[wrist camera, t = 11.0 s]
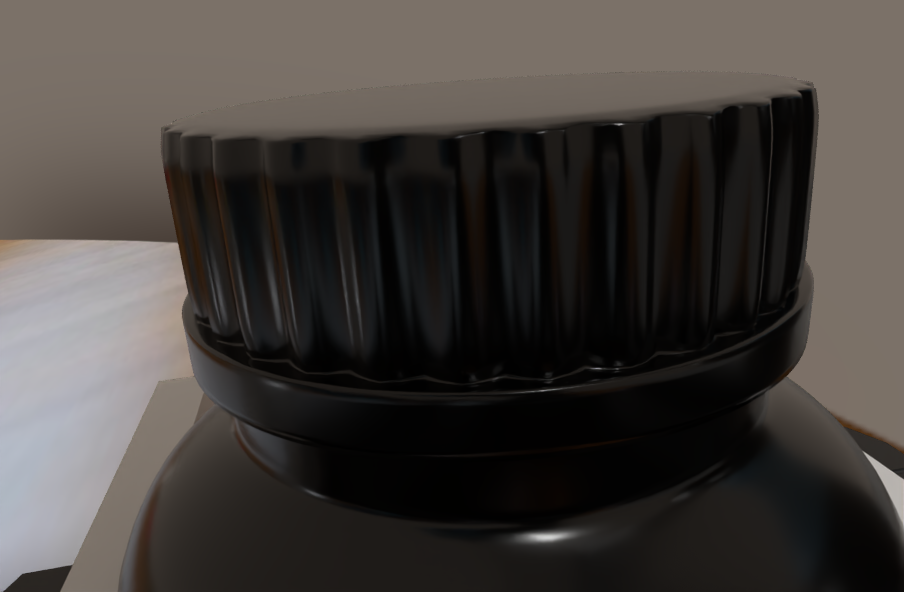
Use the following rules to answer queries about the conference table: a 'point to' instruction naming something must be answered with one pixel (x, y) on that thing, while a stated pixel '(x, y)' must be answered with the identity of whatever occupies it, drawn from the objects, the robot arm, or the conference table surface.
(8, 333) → the conference table surface
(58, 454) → the conference table surface
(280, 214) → the supplement bottle
